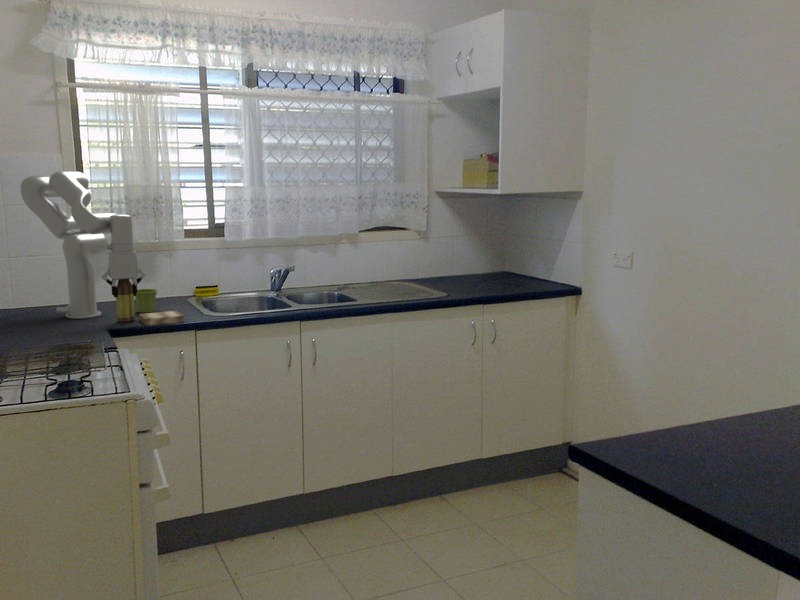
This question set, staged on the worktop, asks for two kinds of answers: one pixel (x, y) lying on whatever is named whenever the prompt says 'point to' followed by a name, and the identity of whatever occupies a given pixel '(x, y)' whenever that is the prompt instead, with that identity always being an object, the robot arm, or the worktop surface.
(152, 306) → the plant pot
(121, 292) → the sauce bottle
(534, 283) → the worktop surface
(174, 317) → the board
